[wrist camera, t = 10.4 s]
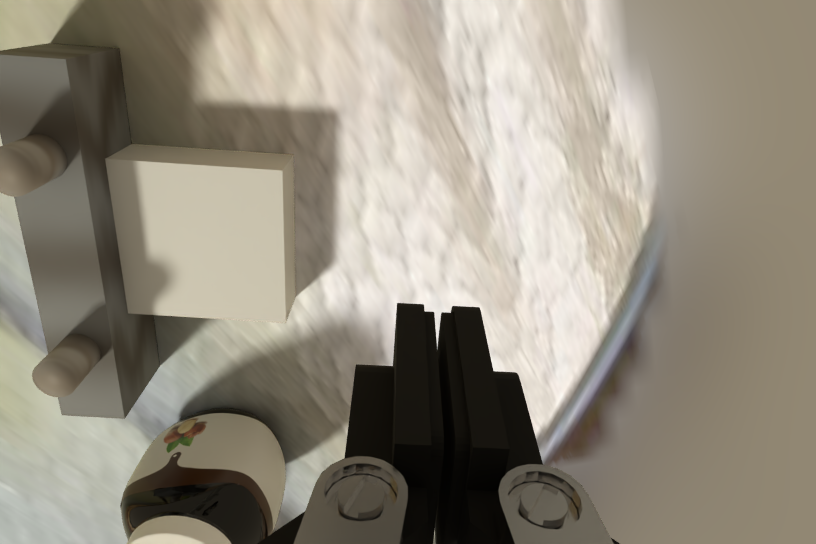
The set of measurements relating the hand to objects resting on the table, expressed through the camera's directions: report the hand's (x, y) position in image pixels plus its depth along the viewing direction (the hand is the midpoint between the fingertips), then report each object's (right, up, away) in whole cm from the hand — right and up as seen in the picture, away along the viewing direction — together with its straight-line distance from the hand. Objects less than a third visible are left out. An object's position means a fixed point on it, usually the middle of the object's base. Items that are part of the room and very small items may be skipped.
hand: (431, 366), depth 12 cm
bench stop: (-20, +5, +27) cm, 34 cm away
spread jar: (-15, -13, +36) cm, 41 cm away
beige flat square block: (-13, +5, +28) cm, 31 cm away
